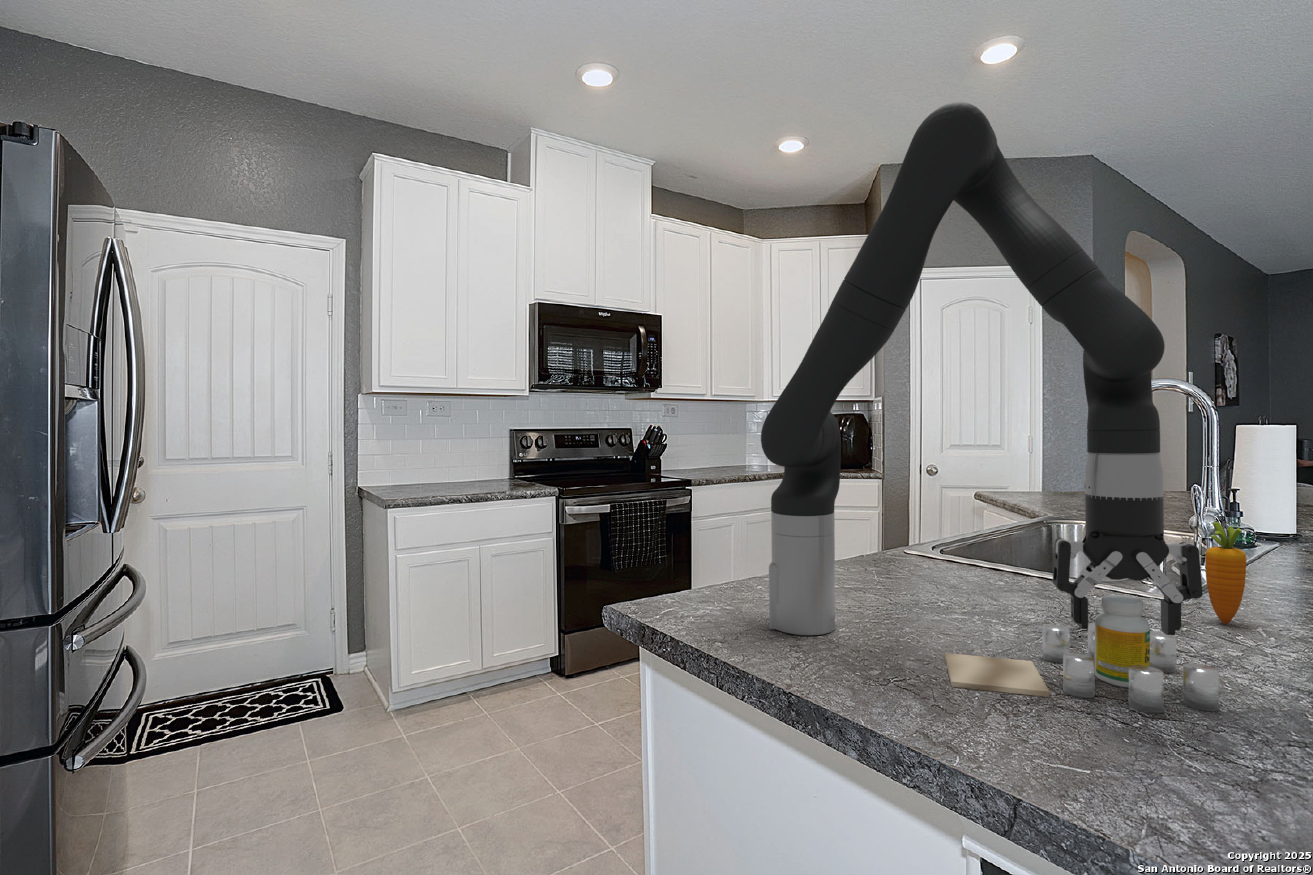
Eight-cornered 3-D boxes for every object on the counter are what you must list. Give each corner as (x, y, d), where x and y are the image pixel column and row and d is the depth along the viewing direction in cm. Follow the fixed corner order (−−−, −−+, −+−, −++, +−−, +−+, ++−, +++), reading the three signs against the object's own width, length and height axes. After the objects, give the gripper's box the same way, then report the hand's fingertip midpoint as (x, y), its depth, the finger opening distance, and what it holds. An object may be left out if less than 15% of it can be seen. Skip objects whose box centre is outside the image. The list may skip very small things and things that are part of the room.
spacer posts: (1072, 704, 73) (1072, 667, 73) (1036, 647, 91) (1036, 618, 91) (1234, 722, 68) (1235, 682, 68) (1163, 658, 86) (1163, 627, 86)
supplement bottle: (1090, 669, 83) (1090, 591, 83) (1143, 675, 81) (1143, 595, 81) (1099, 685, 78) (1099, 602, 78) (1155, 692, 76) (1156, 607, 76)
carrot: (1254, 630, 97) (1255, 526, 97) (1212, 627, 99) (1213, 524, 98) (1237, 620, 102) (1238, 521, 101) (1197, 618, 103) (1198, 520, 103)
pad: (951, 686, 78) (951, 681, 78) (944, 657, 88) (944, 652, 88) (1049, 697, 75) (1049, 691, 75) (1032, 665, 85) (1031, 660, 85)
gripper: (1060, 494, 78) (1062, 635, 78) (1211, 495, 73) (1213, 645, 73) (1047, 488, 85) (1048, 617, 85) (1183, 489, 80) (1185, 626, 80)
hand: (1124, 630), depth 79 cm, fingers open, 8 cm apart
